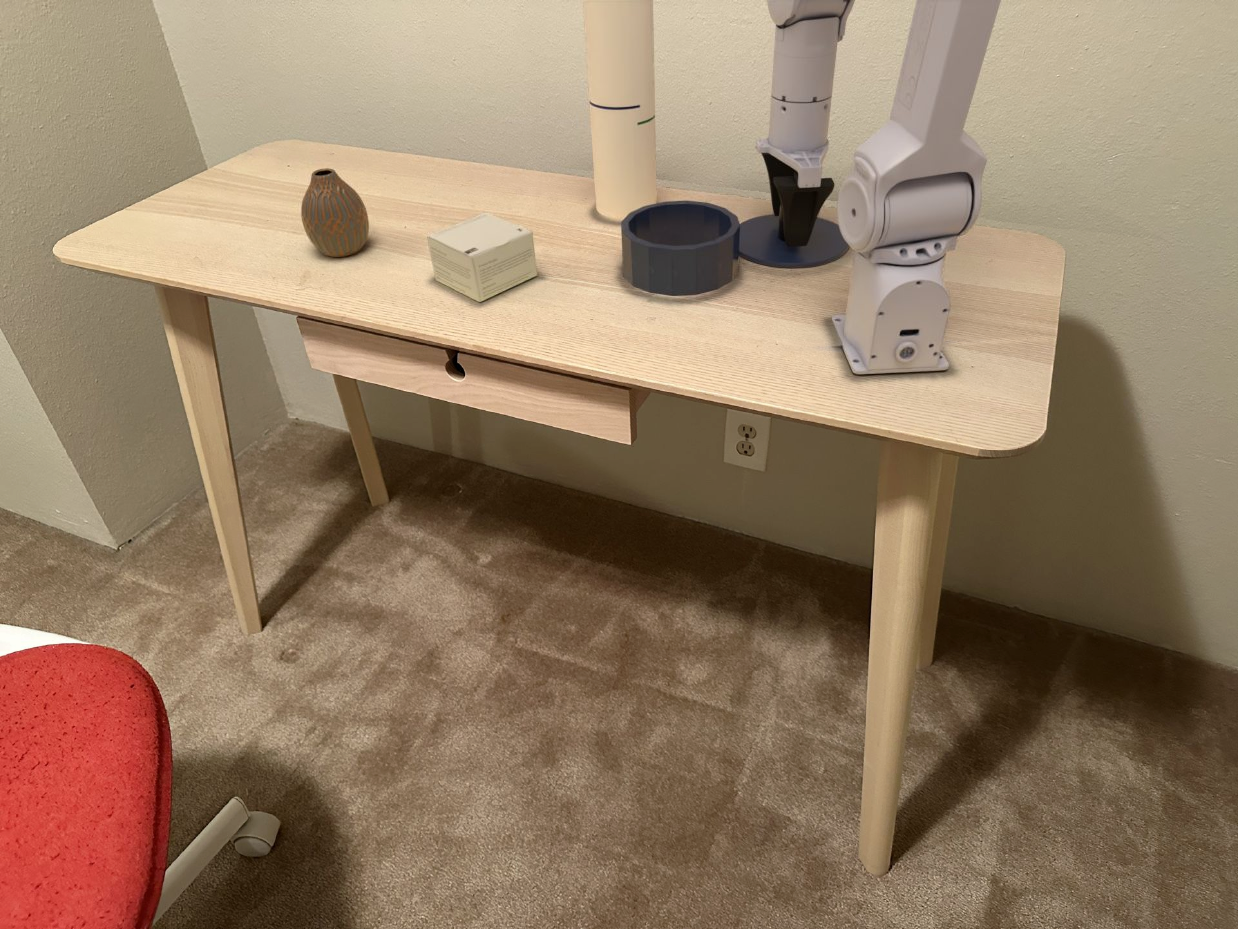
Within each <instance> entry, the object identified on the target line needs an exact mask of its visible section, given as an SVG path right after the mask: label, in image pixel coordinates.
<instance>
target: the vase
mask: <svg viewBox="0 0 1238 929" xmlns="http://www.w3.org/2000/svg"><path fill="white" fill-rule="evenodd" d="M300 213H301V214H300V215H301V222H302V226H303V229H304V232H305V234H306V236H307V238H308V239H309V241H310V242H311V244H312V245H313V246H314V247H315V248H316V249H317V250H318V251H320V253H323V254H324V255H326V256H328V257H332V258H343V257H348V256H352V255H354V254H356V253H358V252H359V251H361V250H362V248H363V247H364V245H365V244H366V242H367V240H368V237H369V233H370V232H369V231H370V221H369V216H368V210H367V207H366V206H365V203H364V201H363V199H362V197H361V196H360V195H359V193H358V192H357V191H356V190H355V189H354V188H353V187H352V186H351V185H350V184H348V183H347V182H346V181H345V180H344V179H342V178H341V177H340V176H339V175H338V173H337V172H336V170H335V169H333V168H329V167H326V168H319V169H317V170H314V171H313V172H312V173H311V177H310V183H309V185H308V187H307V189H306V191H305V193H304V196H303V198H302V201H301V209H300Z"/></svg>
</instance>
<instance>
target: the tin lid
mask: <svg viewBox="0 0 1238 929" xmlns="http://www.w3.org/2000/svg"><path fill="white" fill-rule="evenodd" d="M739 224H740V239H739V257H741V258H743V259H745V260H747V261H749V262H752V263H754V264H757V265H758V264H759V265H763V266H767V267H771V268H772V267H774V268H781V269H803V268H805V269H806V268H812V267H818V266H823V265H827V264H829V263H832V262H835V261H836V260H839V259H840V258H842V257H843V256H845V254H847V252H848V251H849V249H850V246H849V245H848V243H847V242H846V241H845V240H844V238H843V236H842V234H841V232H840V228H839V225H838V223H835V222H834V221H831V220H829V219H827V218H822V217H818V216H817V219H816V222H815V224H814V227H813V230H812V233H811V236H810V239H809V241H808V244H807V246H795V247H787V245H786V242H785V237H784V227H783V212H782V205H780V215H779V216H775V215H774V213H772V214H765V215H760V216H756V217H752V218H749V219H746V220H744V221H742V222H739Z"/></svg>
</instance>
